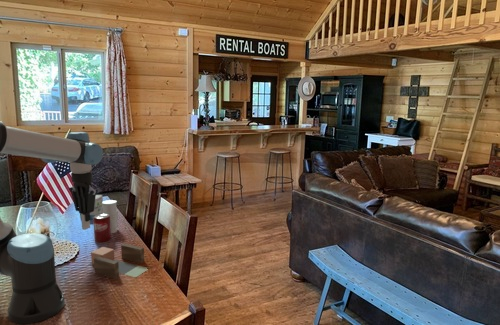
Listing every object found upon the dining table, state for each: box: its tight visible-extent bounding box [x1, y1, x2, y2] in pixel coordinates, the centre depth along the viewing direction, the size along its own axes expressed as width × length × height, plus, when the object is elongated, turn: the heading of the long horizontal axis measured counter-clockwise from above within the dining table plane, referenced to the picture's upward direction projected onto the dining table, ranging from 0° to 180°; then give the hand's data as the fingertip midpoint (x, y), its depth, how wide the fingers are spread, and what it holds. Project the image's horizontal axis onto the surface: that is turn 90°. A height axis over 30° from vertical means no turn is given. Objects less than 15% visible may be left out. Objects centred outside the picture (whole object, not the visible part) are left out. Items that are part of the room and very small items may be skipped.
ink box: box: [90, 194, 104, 220], centre depth 201 cm, size 9×8×12 cm
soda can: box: [92, 214, 113, 244], centre depth 167 cm, size 7×7×12 cm
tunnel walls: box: [93, 243, 145, 280], centre depth 142 cm, size 16×10×6 cm, turn 156°
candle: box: [102, 199, 119, 234], centre depth 180 cm, size 7×7×15 cm
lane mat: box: [87, 259, 148, 278], centre depth 143 cm, size 8×24×1 cm, turn 66°
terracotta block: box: [90, 246, 116, 265], centre depth 146 cm, size 6×6×5 cm
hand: (86, 228), depth 148 cm, fingers closed
